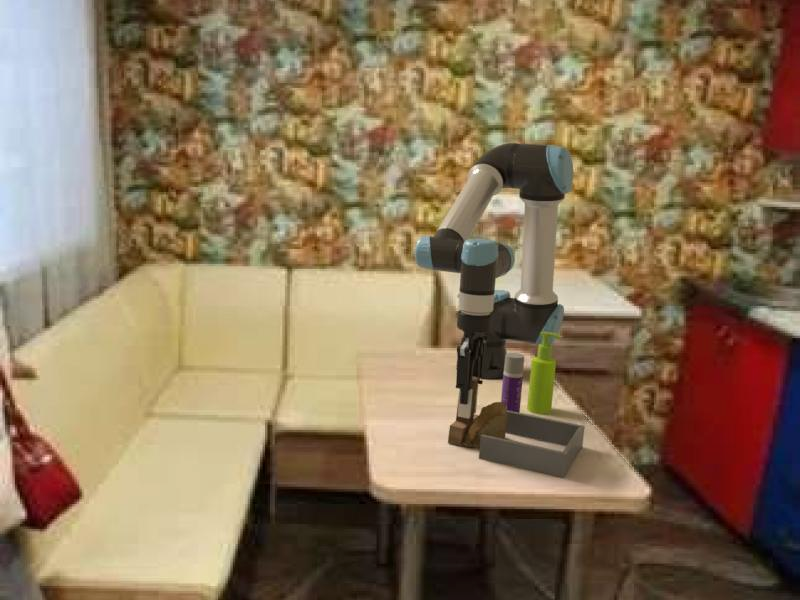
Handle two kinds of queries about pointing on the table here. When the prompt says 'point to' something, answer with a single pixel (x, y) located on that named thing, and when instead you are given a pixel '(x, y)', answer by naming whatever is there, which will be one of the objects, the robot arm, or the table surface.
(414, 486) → the table surface
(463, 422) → the brown t-shaped block
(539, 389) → the soap dispenser
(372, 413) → the table surface
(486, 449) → the box
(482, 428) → the rock
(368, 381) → the table surface
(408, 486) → the table surface
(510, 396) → the container
